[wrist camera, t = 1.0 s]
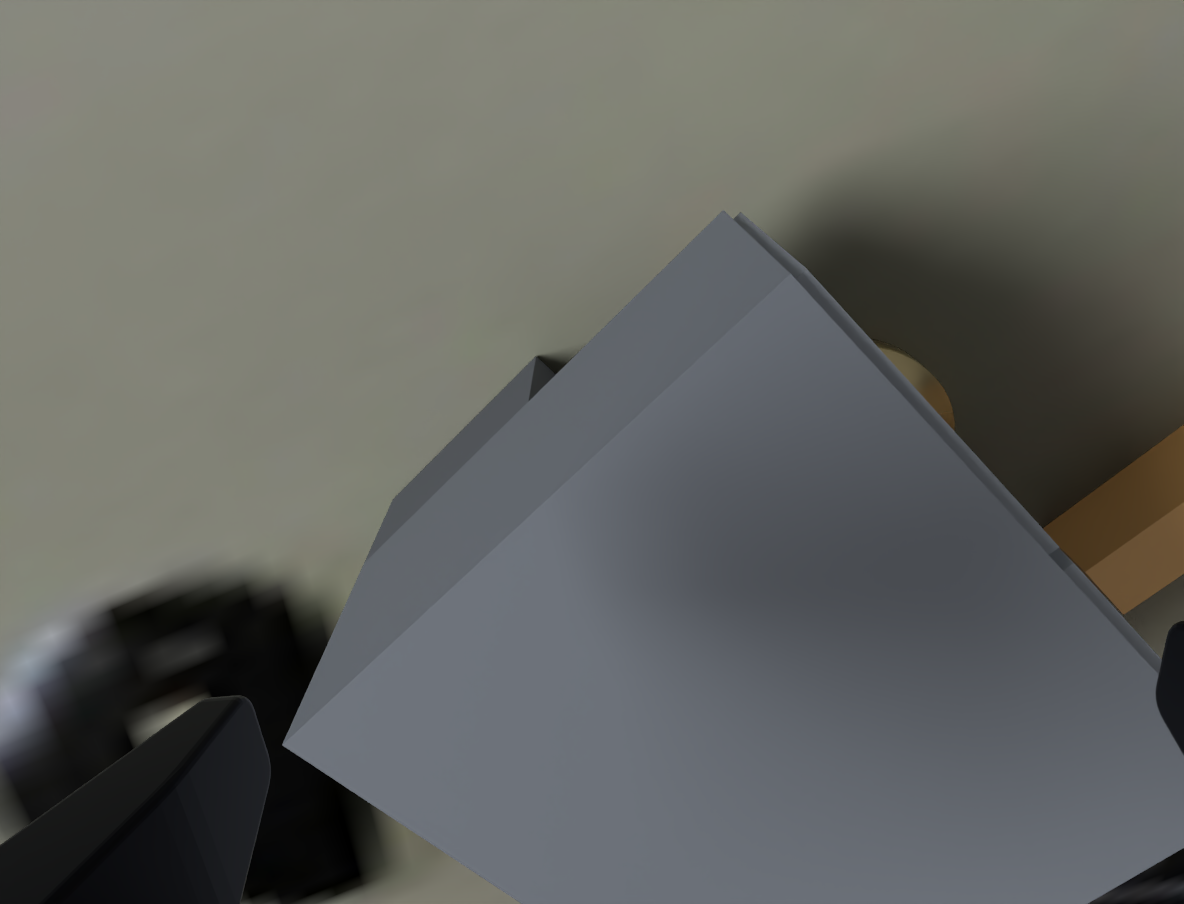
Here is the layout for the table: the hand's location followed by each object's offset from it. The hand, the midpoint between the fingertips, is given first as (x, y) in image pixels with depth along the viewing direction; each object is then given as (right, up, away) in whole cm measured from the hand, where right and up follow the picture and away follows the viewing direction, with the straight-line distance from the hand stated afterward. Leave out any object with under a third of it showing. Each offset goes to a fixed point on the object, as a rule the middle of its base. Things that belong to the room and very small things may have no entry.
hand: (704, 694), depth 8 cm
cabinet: (+2, +1, +14) cm, 15 cm away
